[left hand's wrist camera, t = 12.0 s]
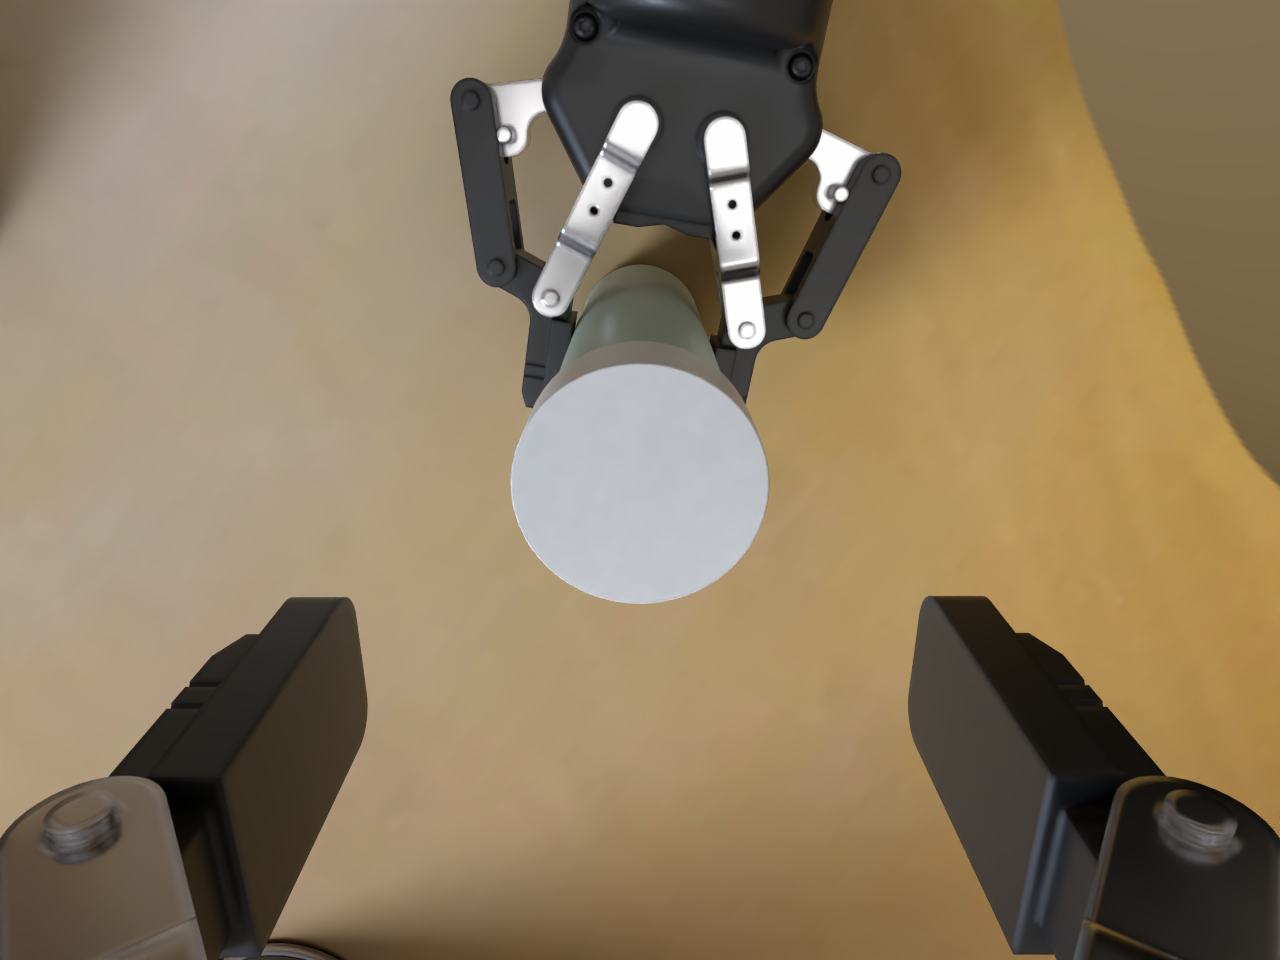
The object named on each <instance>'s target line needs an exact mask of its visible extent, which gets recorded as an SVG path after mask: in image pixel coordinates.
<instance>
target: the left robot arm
mask: <svg viewBox="0 0 1280 960" xmlns="http://www.w3.org/2000/svg"><path fill="white" fill-rule="evenodd" d="M1102 702H1103V701H1102V700H1101V699H1100V698H1099V697H1098V696H1097V694H1096V693H1095V692H1094V691H1093V690H1092V688H1091V687H1090V686H1089V685H1085V683H1084V679H1083V678H1082V677H1081V675H1080V674H1079V673H1078V672H1077V671H1076V670H1075V668H1074V667H1073V666H1072V665H1071V664H1070V663H1069V661H1068V660H1067V659H1066V658H1065V657H1064V655H1063V654H1061V653H1059V652H1058V651H1056V650H1055V649H1053V648H1051V647H1050V646H1048V645H1047V644H1045V643H1044V642H1042V641H1040V640H1039V639H1037V638H1036V637H1034V636H1032V635H1031V634H1029V633H1015V632H1014V630H1013V629H1012V628H1011V627H1010V625H1009V624H1008V623H1007V621H1006V620H1005V619H1004V618H1003V616H1002V615H1001V614H1000V613H999V611H998V610H997V609H996V608H995V606H994V605H993V604H992V602H991V601H990V600H989V599H988V598H987V597H985V596H928V597H926V598H925V599H924V601H923V603H922V605H921V609H920V614H919V621H918V628H917V636H916V643H915V651H914V658H913V666H912V673H911V681H910V688H909V697H908V712H909V722H910V728H911V733H912V737H913V740H914V743H915V745H916V747H917V749H918V751H919V754H920V756H921V758H922V760H923V762H924V764H925V766H926V769H927V771H928V773H929V775H930V777H931V779H932V781H933V784H934V786H935V788H936V790H937V792H938V794H939V796H940V798H941V801H942V803H943V805H944V807H945V809H946V811H947V813H948V816H949V818H950V820H951V822H952V824H953V826H954V828H955V831H956V833H957V835H958V837H959V839H960V841H961V843H962V845H963V848H964V850H965V852H966V854H967V856H968V858H969V860H970V863H971V865H972V867H973V869H974V871H975V873H976V875H977V877H978V880H979V882H980V884H981V886H982V888H983V890H984V892H985V895H986V897H987V899H988V901H989V903H990V905H991V907H992V910H993V912H994V914H995V916H996V918H997V920H998V922H999V924H1000V927H1001V929H1002V931H1003V933H1004V935H1005V937H1006V939H1007V942H1008V944H1009V946H1010V948H1011V950H1012V952H1013V954H1054V955H1055V957H1056V959H1057V960H1280V838H1279V837H1278V835H1277V834H1276V833H1275V831H1274V830H1273V829H1272V828H1271V827H1270V826H1269V825H1268V824H1267V823H1266V821H1265V820H1263V819H1262V818H1261V817H1260V816H1259V815H1257V814H1256V813H1255V812H1254V811H1252V810H1251V809H1249V808H1248V807H1247V806H1245V805H1244V804H1242V803H1240V802H1239V801H1237V800H1235V799H1233V798H1232V797H1230V796H1228V795H1226V794H1224V793H1222V792H1220V791H1217V790H1215V789H1213V788H1210V787H1207V786H1205V785H1202V784H1199V783H1196V782H1192V781H1189V780H1185V779H1180V778H1175V777H1167V776H1165V774H1164V773H1163V772H1162V771H1161V770H1160V769H1159V767H1158V766H1157V765H1156V764H1155V763H1154V761H1153V760H1152V759H1151V758H1150V757H1149V756H1148V754H1147V753H1146V752H1145V751H1144V750H1143V749H1142V747H1141V746H1140V745H1139V744H1138V743H1137V741H1136V740H1135V739H1134V738H1133V737H1132V736H1131V734H1130V733H1129V732H1128V731H1127V730H1126V728H1125V727H1124V726H1123V725H1122V724H1121V723H1120V721H1119V720H1118V719H1117V718H1116V717H1115V716H1114V714H1113V713H1112V712H1111V711H1110V710H1109V708H1108V707H1103V704H1102ZM171 704H172V705H171V709H166V710H165V711H164V712H163V714H162V715H161V716H160V717H159V718H158V719H157V721H156V722H155V723H154V724H153V725H152V726H151V728H150V729H149V730H148V731H147V732H146V733H145V735H144V736H143V737H142V738H141V739H140V740H139V742H138V743H137V744H136V745H135V746H134V747H133V749H132V750H131V751H130V752H129V753H128V754H127V756H126V757H125V758H124V759H123V760H122V761H121V763H120V764H119V765H118V766H117V767H116V768H115V770H114V771H113V772H112V773H111V774H110V775H109V777H105V778H100V779H95V780H91V781H88V782H84V783H81V784H78V785H75V786H73V787H70V788H67V789H65V790H63V791H60V792H58V793H56V794H54V795H52V796H50V797H48V798H47V799H45V800H43V801H41V802H40V803H38V804H36V805H35V806H33V807H32V808H31V809H29V810H28V811H26V812H25V813H24V814H23V815H21V816H20V817H19V818H18V819H17V820H15V821H14V823H13V824H12V825H11V826H10V827H9V828H8V829H7V830H6V831H5V833H4V834H3V835H2V837H1V838H0V960H218V959H219V958H225V959H223V960H338V959H336V958H334V957H332V956H331V955H328V954H326V953H324V952H321V951H318V950H316V949H312V948H309V947H305V946H300V945H294V944H283V943H271V944H267V942H268V940H269V938H270V935H271V933H272V931H273V929H274V927H275V925H276V923H277V921H278V919H279V916H280V914H281V912H282V910H283V908H284V906H285V904H286V902H287V900H288V898H289V895H290V893H291V891H292V889H293V887H294V885H295V883H296V881H297V879H298V876H299V874H300V872H301V870H302V868H303V866H304V864H305V862H306V860H307V857H308V855H309V853H310V851H311V849H312V847H313V845H314V843H315V841H316V839H317V836H318V834H319V832H320V830H321V828H322V826H323V824H324V822H325V820H326V817H327V815H328V813H329V811H330V809H331V807H332V805H333V803H334V801H335V798H336V796H337V794H338V792H339V790H340V788H341V786H342V784H343V782H344V779H345V777H346V775H347V773H348V771H349V769H350V767H351V765H352V763H353V761H354V758H355V756H356V754H357V752H358V750H359V748H360V746H361V743H362V740H363V737H364V733H365V728H366V721H367V692H366V685H365V678H364V670H363V663H362V655H361V648H360V640H359V633H358V626H357V618H356V612H355V608H354V605H353V603H352V601H351V600H350V599H349V598H347V597H292V598H289V599H287V600H286V601H285V602H284V604H283V605H282V606H281V608H280V609H279V610H278V611H277V613H276V614H275V615H274V616H273V618H272V619H271V620H270V621H269V623H268V624H267V625H266V626H265V628H264V629H263V630H262V631H261V633H260V634H246V635H245V636H243V637H241V638H240V639H238V640H237V641H235V642H234V643H232V644H230V645H229V646H227V647H226V648H224V649H222V650H221V651H219V652H218V653H216V654H215V655H213V656H212V657H211V658H210V659H209V660H208V661H207V662H206V663H205V665H204V666H203V667H202V668H201V669H200V670H199V672H198V673H197V674H196V675H195V676H194V677H193V679H192V680H191V681H190V686H189V687H185V688H184V689H183V690H182V691H181V693H180V694H179V695H178V696H177V697H176V698H175V700H174V701H173V702H172V703H171Z"/></svg>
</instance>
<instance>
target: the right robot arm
mask: <svg viewBox="0 0 1280 960" xmlns="http://www.w3.org/2000/svg"><path fill="white" fill-rule="evenodd" d="M832 1H833V0H570V3H569V12H568V20H567V27H566V32H565V36H564V39H563V41H562V44H561V46H560V48H559V50H558V52H557V54H556V55H555V57H554V58H553V60H552V61H551V62H550V64H549V65H548V67H547V69H546V71H545V73H544V76H543V78H542V79H533V80H523V81H513V82H504V83H494V84H486V83H484V82H482V81H480V80H477V79H475V78H465V79H462V80H460V81H459V82H457V83H456V85H455V86H454V87H453V89H452V92H451V98H450V100H451V108H452V114H453V120H454V127H455V133H456V139H457V146H458V152H459V158H460V165H461V171H462V177H463V184H464V190H465V196H466V202H467V209H468V215H469V221H470V228H471V234H472V240H473V247H474V253H475V259H476V266H477V271H478V274H479V276H480V278H481V279H482V280H483V282H485V283H486V284H488V285H489V286H492V287H500V288H501V289H503V290H505V291H507V292H509V293H510V294H512V295H514V296H516V297H517V298H519V299H520V300H521V301H523V303H524V304H525V305H526V307H527V308H528V311H529V314H530V328H529V336H528V344H527V353H526V362H525V369H524V378H523V386H522V394H523V398H524V401H525V405H526V407H529V408H533V407H534V404H535V402H536V401H537V399H538V397H539V396H540V394H541V392H542V391H543V389H544V388H545V387H546V386H547V384H548V383H549V382H550V381H551V379H552V378H553V377H554V376H555V375H557V374H558V373H559V371H560V368H561V366H562V363H563V360H564V358H565V355H566V352H567V350H568V347H569V344H570V342H571V339H572V336H573V334H574V331H575V326H576V319H577V312H576V311H572V305H573V297H574V294H575V292H576V290H577V288H578V286H579V284H580V282H581V281H582V279H583V277H584V275H585V273H586V271H587V269H588V267H589V265H590V263H591V261H592V259H593V257H594V255H595V253H596V251H597V249H598V247H599V245H600V243H601V241H602V239H603V237H604V235H605V233H606V231H607V229H608V228H609V226H610V224H611V222H612V220H614V222H613V223H618V224H624V225H629V226H635V227H642V226H652V225H667V226H669V227H671V228H673V229H676V230H678V231H680V232H682V233H684V234H686V235H688V236H694V237H699V238H705V239H709V240H710V247H711V255H712V261H713V266H714V271H715V277H716V284H717V291H718V299H719V306H720V313H721V321H720V326H719V331H718V335H712V334H711V337H710V344H711V347H712V350H713V352H714V355H715V358H716V360H717V363H718V366H719V368H720V371H721V372H722V373H723V374H724V375H725V377H726V378H727V379H728V380H729V381H730V382H731V383H732V384H733V385H734V387H735V388H736V390H737V391H738V393H739V394H740V396H741V397H742V399H743V401H744V403H745V405H746V399H747V395H748V391H749V386H750V381H751V377H752V372H753V368H754V363H755V359H756V356H757V354H758V352H759V351H760V349H761V348H762V347H763V346H764V345H766V344H767V343H769V342H772V341H775V340H780V339H786V338H791V337H797V338H800V339H810V338H812V337H814V336H816V335H817V334H819V332H820V331H821V330H822V328H823V326H824V325H825V323H826V321H827V319H828V317H829V315H830V313H831V311H832V309H833V307H834V305H835V304H836V302H837V300H838V298H839V296H840V294H841V292H842V290H843V288H844V286H845V284H846V283H847V281H848V279H849V277H850V275H851V273H852V271H853V269H854V267H855V265H856V263H857V262H858V260H859V258H860V256H861V254H862V252H863V250H864V248H865V246H866V244H867V242H868V241H869V239H870V237H871V235H872V233H873V231H874V229H875V227H876V225H877V223H878V221H879V220H880V218H881V216H882V214H883V212H884V210H885V208H886V206H887V204H888V202H889V200H890V199H891V197H892V195H893V193H894V191H895V189H896V187H897V185H898V183H899V181H900V178H901V167H900V164H899V162H898V161H897V159H896V158H895V157H893V156H892V155H890V154H886V153H880V152H868V151H866V150H864V149H862V148H860V147H858V146H856V145H854V144H852V143H850V142H848V141H846V140H844V139H842V138H840V137H838V136H836V135H834V134H832V133H830V132H828V131H826V130H824V129H823V121H822V114H821V111H820V107H819V104H818V99H817V91H816V81H817V72H818V67H819V62H820V57H821V52H822V48H823V43H824V39H825V34H826V29H827V25H828V20H829V15H830V11H831V6H832ZM546 113H547V114H548V116H549V118H550V120H551V122H552V124H553V126H554V128H555V130H556V132H557V134H558V136H559V138H560V140H561V142H562V144H563V146H564V148H565V150H566V152H567V154H568V156H569V158H570V160H571V162H572V164H573V166H574V168H575V170H576V172H577V174H578V176H579V178H580V180H581V182H582V184H583V187H582V189H581V192H580V194H579V196H578V198H577V200H576V202H575V204H574V206H573V208H572V210H571V212H570V214H569V216H568V218H567V220H566V222H565V224H564V226H563V228H562V230H561V233H560V235H559V237H558V240H557V242H556V244H555V246H554V248H553V250H552V252H551V254H550V256H549V258H548V260H547V262H544V261H542V260H540V259H539V258H537V257H535V256H533V255H532V254H530V253H528V252H526V251H525V250H524V245H523V237H522V230H521V223H520V216H519V208H518V201H517V194H516V187H515V179H514V172H513V165H512V157H515V156H519V155H521V154H523V153H524V152H525V151H526V150H527V149H528V147H529V144H530V141H531V128H532V125H533V123H534V122H535V120H536V119H537V118H538V117H539V116H541V115H543V114H546ZM806 161H808V162H809V163H810V164H811V165H812V167H813V169H814V174H815V180H814V184H813V187H812V191H811V196H812V200H813V203H814V204H815V206H816V207H817V208H818V209H820V210H822V213H821V215H820V217H819V219H818V221H817V223H816V225H815V227H814V229H813V231H812V233H811V235H810V237H809V239H808V241H807V243H806V245H805V247H804V249H803V251H802V253H801V255H800V257H799V259H798V261H797V263H796V265H795V267H794V269H793V271H792V273H791V275H790V277H789V279H788V281H787V283H786V285H785V287H784V289H783V291H782V293H781V294H778V295H773V296H768V297H762V292H761V284H760V260H759V251H758V243H757V234H756V226H755V217H754V212H755V211H756V210H757V209H758V208H759V207H760V206H761V205H762V204H763V203H764V202H765V201H766V200H767V199H768V198H769V197H770V196H771V195H772V194H773V193H774V192H775V191H776V190H777V189H778V188H779V187H780V186H781V185H782V184H783V183H784V182H785V181H786V180H787V179H788V178H789V177H790V176H791V175H792V174H793V173H794V172H795V171H796V170H797V169H798V168H799V167H800V166H802V165H803V164H804V163H805V162H806Z"/></svg>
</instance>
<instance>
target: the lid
mask: <svg viewBox="0 0 1280 960" xmlns="http://www.w3.org/2000/svg"><path fill="white" fill-rule="evenodd" d="M768 495H769V469H768V464H767V459H766V454H765V451H764V448H763V445H762V442H761V439H760V437H759V434H758V432H757V430H756V427H755V425H754V423H753V420H752V418H751V416H750V413H749V411H748V409H747V407H746V405H745V403H744V401H743V399H742V397H741V396H740V394H739V393H738V391H737V390H736V388H735V387H734V385H733V384H732V383H731V382H730V381H729V380H728V379H727V378H726V377H725V375H724V374H723V373H722V372H720V371H719V370H718V369H717V368H716V367H714V366H713V365H712V364H711V363H709V362H708V361H706V360H704V359H703V358H701V357H700V356H698V355H696V354H694V353H692V352H689V351H687V350H685V349H683V348H679V347H676V346H673V345H669V344H665V343H658V342H652V341H630V342H620V343H616V344H611V345H607V346H603V347H601V348H598V349H595V350H593V351H590V352H588V353H586V354H584V355H582V356H581V357H579V358H577V359H575V360H574V361H572V362H571V363H570V364H568V365H567V366H566V367H564V368H563V369H562V370H561V371H560V372H559V373H558V374H557V375H555V376H554V377H553V378H552V379H551V381H550V382H549V383H548V384H547V386H546V387H545V388H544V389H543V391H542V392H541V394H540V396H539V397H538V399H537V401H536V402H535V404H534V407H533V409H532V411H531V414H530V416H529V419H528V421H527V423H526V426H525V428H524V430H523V433H522V435H521V437H520V440H519V442H518V444H517V447H516V451H515V455H514V458H513V462H512V471H511V496H512V502H513V508H514V512H515V515H516V518H517V521H518V524H519V527H520V529H521V531H522V533H523V535H524V537H525V539H526V541H527V542H528V544H529V545H530V547H531V548H532V550H533V552H534V553H535V554H536V555H537V556H538V557H539V559H540V560H541V561H542V562H543V563H544V564H545V565H546V566H547V567H548V568H549V569H550V570H551V571H552V572H553V573H554V574H556V575H557V576H558V577H560V578H561V579H563V580H564V581H565V582H567V583H568V584H570V585H572V586H574V587H576V588H577V589H579V590H581V591H583V592H586V593H588V594H591V595H593V596H596V597H599V598H603V599H607V600H610V601H616V602H623V603H636V604H647V603H658V602H664V601H669V600H674V599H678V598H681V597H684V596H687V595H690V594H692V593H694V592H696V591H698V590H701V589H703V588H705V587H706V586H708V585H710V584H711V583H713V582H714V581H716V580H718V579H719V578H720V577H722V576H723V575H724V574H725V573H726V572H728V571H729V570H730V569H731V568H732V567H733V566H734V565H735V564H736V563H737V562H738V561H739V560H740V559H741V558H742V557H743V555H744V554H745V552H746V551H747V550H748V548H749V547H750V546H751V544H752V542H753V540H754V539H755V537H756V535H757V533H758V531H759V529H760V526H761V524H762V521H763V519H764V516H765V511H766V507H767V503H768Z"/></svg>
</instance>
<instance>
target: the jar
mask: <svg viewBox="0 0 1280 960" xmlns="http://www.w3.org/2000/svg"><path fill="white" fill-rule="evenodd" d="M630 341H652V342H658V343H665V344H669V345H673V346H676V347H679V348H683V349H685V350H687V351H689V352H692V353H694V354H696V355H698V356H700V357H701V358H703V359H704V360H706V361H708V362H709V363H711V364H712V365H713V366H714V367H716V368H717V369H718V370H719V371H720V368H719V366H718V363H717V360H716V358H715V355H714V352H713V350H712V347H711V344H710V342H709V339H708V336H707V334H706V331H705V328H704V326H703V323H702V320H701V318H700V315H699V312H698V310H697V307H696V304H695V302H694V299H693V297H692V295H691V293H690V292H689V290H688V289H687V287H686V286H685V285H684V284H683V283H682V282H681V281H680V280H679V279H678V278H677V277H676V276H674V275H673V274H671V273H670V272H668V271H666V270H664V269H661V268H658V267H655V266H651V265H639V264H638V265H629V266H625V267H622V268H619V269H616V270H614V271H612V272H611V273H609V274H607V275H606V276H605V277H603V278H602V279H601V280H600V281H599V282H598V283H597V284H596V285H595V286H594V288H593V289H592V290H591V292H590V294H589V295H588V297H587V300H586V302H585V305H584V307H583V310H582V313H581V315H580V318H579V321H578V323H577V326H576V328H575V331H574V334H573V336H572V339H571V342H570V344H569V347H568V350H567V352H566V355H565V358H564V360H563V363H562V366H561V368H560V371H561V370H562V369H563V368H564V367H566V366H567V365H568V364H570V363H571V362H572V361H574V360H575V359H577V358H579V357H581V356H582V355H584V354H586V353H588V352H590V351H593V350H595V349H598V348H601V347H603V346H607V345H611V344H616V343H620V342H630ZM560 371H559V372H560ZM720 372H721V371H720Z"/></svg>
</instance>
